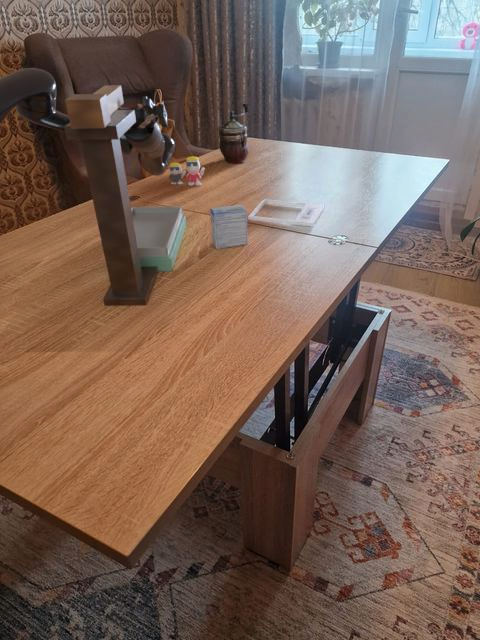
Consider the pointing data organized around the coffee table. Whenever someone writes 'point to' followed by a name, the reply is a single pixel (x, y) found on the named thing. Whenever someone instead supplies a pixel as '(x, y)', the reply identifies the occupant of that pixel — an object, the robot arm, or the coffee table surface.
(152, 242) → the open plastic tray
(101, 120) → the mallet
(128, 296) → the tall wooden post
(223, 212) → the medicine box
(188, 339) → the coffee table surface
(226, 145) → the coffee grinder
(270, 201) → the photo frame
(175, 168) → the toy figures
